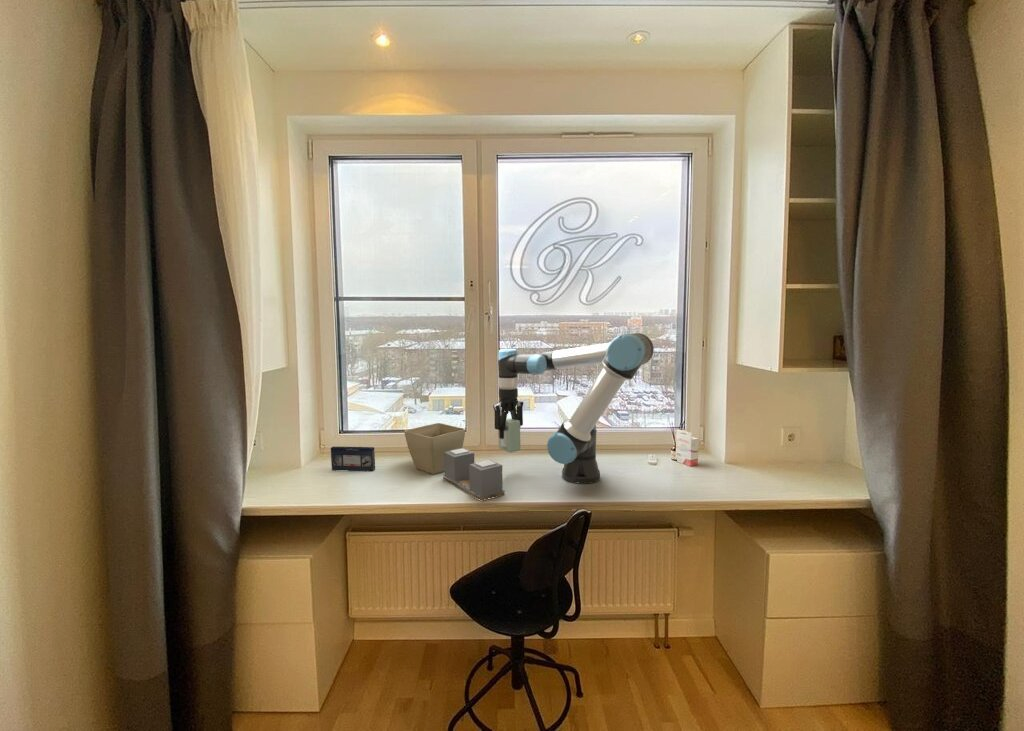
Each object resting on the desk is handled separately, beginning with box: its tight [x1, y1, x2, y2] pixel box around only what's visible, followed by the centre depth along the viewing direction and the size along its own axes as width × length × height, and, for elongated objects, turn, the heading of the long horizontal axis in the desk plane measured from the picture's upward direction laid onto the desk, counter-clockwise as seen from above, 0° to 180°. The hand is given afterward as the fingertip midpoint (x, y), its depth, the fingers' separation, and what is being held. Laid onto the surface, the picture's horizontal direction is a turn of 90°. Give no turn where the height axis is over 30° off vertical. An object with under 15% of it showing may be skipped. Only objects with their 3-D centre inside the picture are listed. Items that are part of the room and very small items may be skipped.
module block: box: [497, 417, 521, 453], centre depth 181 cm, size 5×8×12 cm, turn 37°
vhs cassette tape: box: [330, 446, 376, 472], centre depth 191 cm, size 18×3×10 cm, turn 83°
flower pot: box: [403, 422, 466, 475], centre depth 192 cm, size 19×19×17 cm
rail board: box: [442, 474, 506, 501], centre depth 171 cm, size 10×28×2 cm, turn 37°
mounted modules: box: [444, 447, 504, 497], centre depth 171 cm, size 9×27×11 cm, turn 37°
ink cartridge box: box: [675, 428, 699, 467], centre depth 197 cm, size 9×5×15 cm, turn 28°
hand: (509, 444), depth 181 cm, fingers closed on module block, 5 cm apart
